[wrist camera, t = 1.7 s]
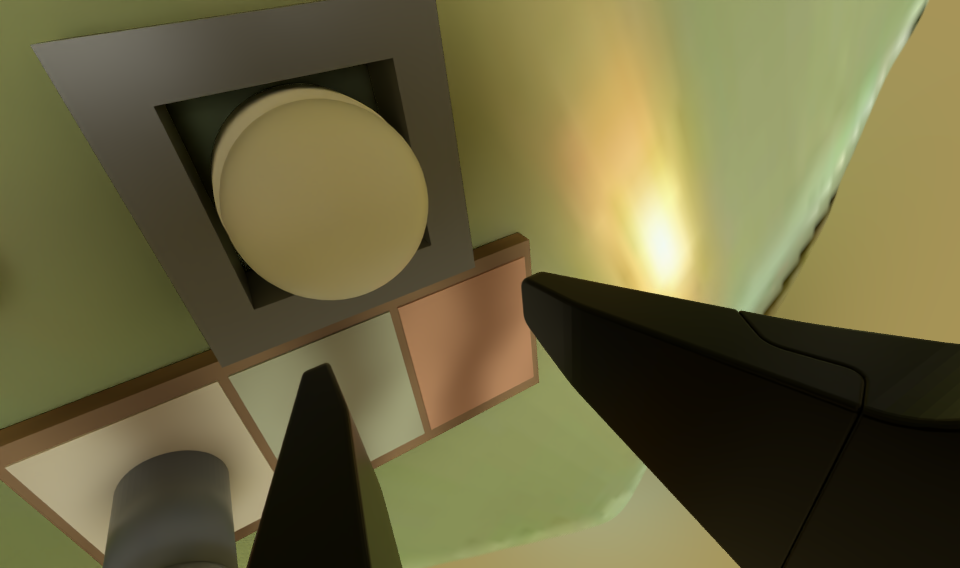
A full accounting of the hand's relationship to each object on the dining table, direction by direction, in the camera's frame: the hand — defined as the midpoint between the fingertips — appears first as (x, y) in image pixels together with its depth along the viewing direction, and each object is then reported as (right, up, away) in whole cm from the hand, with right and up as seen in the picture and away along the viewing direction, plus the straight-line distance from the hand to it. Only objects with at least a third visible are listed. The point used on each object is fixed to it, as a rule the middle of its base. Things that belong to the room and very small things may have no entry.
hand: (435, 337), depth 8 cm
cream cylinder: (-5, +5, +8) cm, 10 cm away
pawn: (-12, -8, +11) cm, 18 cm away
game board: (-6, -4, +14) cm, 16 cm away
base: (-6, +5, +9) cm, 12 cm away
